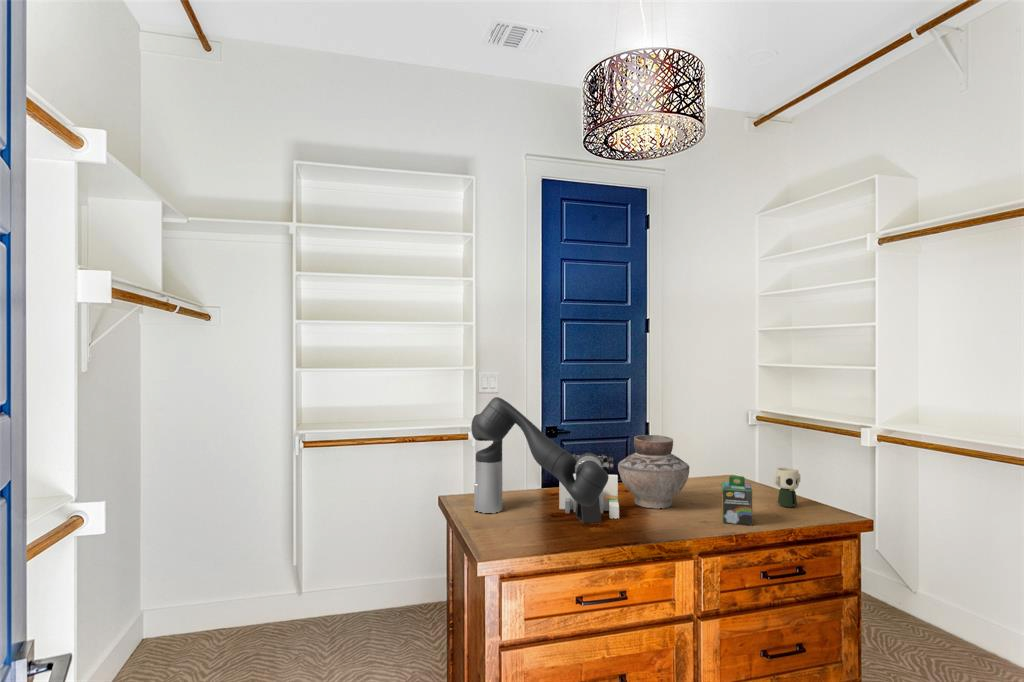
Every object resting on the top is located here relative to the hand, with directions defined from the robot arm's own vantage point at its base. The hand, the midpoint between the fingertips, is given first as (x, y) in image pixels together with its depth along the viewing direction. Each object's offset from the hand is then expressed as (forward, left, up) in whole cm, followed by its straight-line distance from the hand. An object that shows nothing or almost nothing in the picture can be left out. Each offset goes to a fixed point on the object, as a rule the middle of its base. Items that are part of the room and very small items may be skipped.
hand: (588, 457), depth 180 cm
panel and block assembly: (0, +22, -23) cm, 32 cm away
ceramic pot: (+23, +35, -23) cm, 48 cm away
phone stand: (0, +14, -23) cm, 27 cm away
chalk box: (+48, +19, -23) cm, 57 cm away
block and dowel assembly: (+2, +22, -23) cm, 32 cm away
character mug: (+70, +39, -23) cm, 83 cm away
